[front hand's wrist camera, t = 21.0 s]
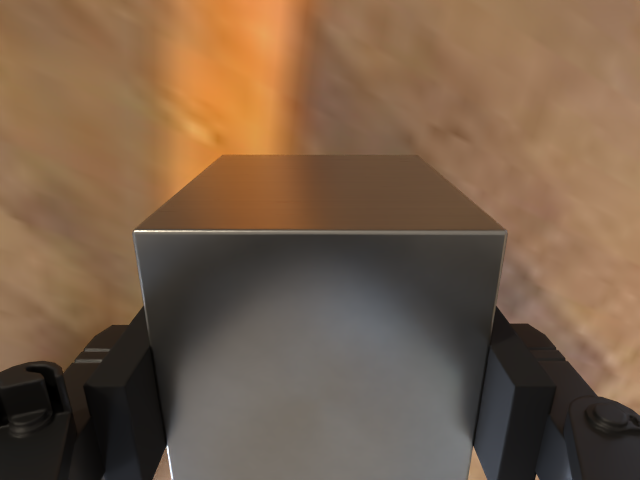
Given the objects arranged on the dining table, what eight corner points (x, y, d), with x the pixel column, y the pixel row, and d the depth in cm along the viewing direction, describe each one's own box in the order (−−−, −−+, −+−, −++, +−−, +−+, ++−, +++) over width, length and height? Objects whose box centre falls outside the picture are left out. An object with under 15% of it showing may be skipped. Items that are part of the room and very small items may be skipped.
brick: (418, 154, 16) (510, 230, 8) (403, 342, 18) (461, 528, 11) (221, 154, 16) (129, 230, 8) (235, 342, 18) (177, 528, 11)
